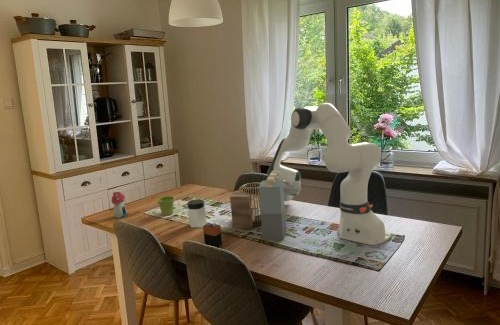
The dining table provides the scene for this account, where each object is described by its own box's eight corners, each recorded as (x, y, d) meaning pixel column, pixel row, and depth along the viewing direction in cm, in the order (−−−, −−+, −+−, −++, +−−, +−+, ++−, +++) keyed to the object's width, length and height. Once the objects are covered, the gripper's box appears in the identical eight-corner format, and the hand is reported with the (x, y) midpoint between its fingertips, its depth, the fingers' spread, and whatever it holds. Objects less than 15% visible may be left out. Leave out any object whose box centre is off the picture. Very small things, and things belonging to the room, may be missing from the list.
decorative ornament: (119, 219, 209) (115, 193, 206) (110, 218, 212) (106, 192, 209) (131, 213, 218) (127, 188, 215) (121, 213, 220) (118, 187, 217)
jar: (188, 223, 196) (185, 200, 194) (204, 220, 198) (202, 198, 196) (191, 229, 188) (188, 205, 185) (207, 226, 190) (205, 202, 188)
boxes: (237, 220, 195) (233, 174, 190) (289, 220, 189) (286, 173, 184) (225, 239, 173) (220, 187, 168) (283, 240, 167) (279, 186, 162)
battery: (216, 248, 164) (214, 226, 162) (204, 245, 167) (202, 224, 165) (222, 244, 167) (220, 222, 165) (210, 242, 171) (208, 220, 169)
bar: (272, 176, 181) (272, 170, 180) (278, 175, 180) (278, 170, 179) (265, 187, 163) (265, 181, 162) (272, 187, 162) (272, 181, 162)
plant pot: (174, 216, 209) (172, 200, 207) (157, 217, 209) (155, 201, 207) (177, 210, 218) (176, 195, 216) (161, 211, 218) (159, 196, 216)
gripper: (263, 183, 205) (257, 176, 192) (302, 182, 200) (299, 175, 187) (262, 194, 203) (257, 188, 190) (301, 194, 198) (299, 188, 185)
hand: (278, 182), depth 188 cm, fingers open, 8 cm apart
